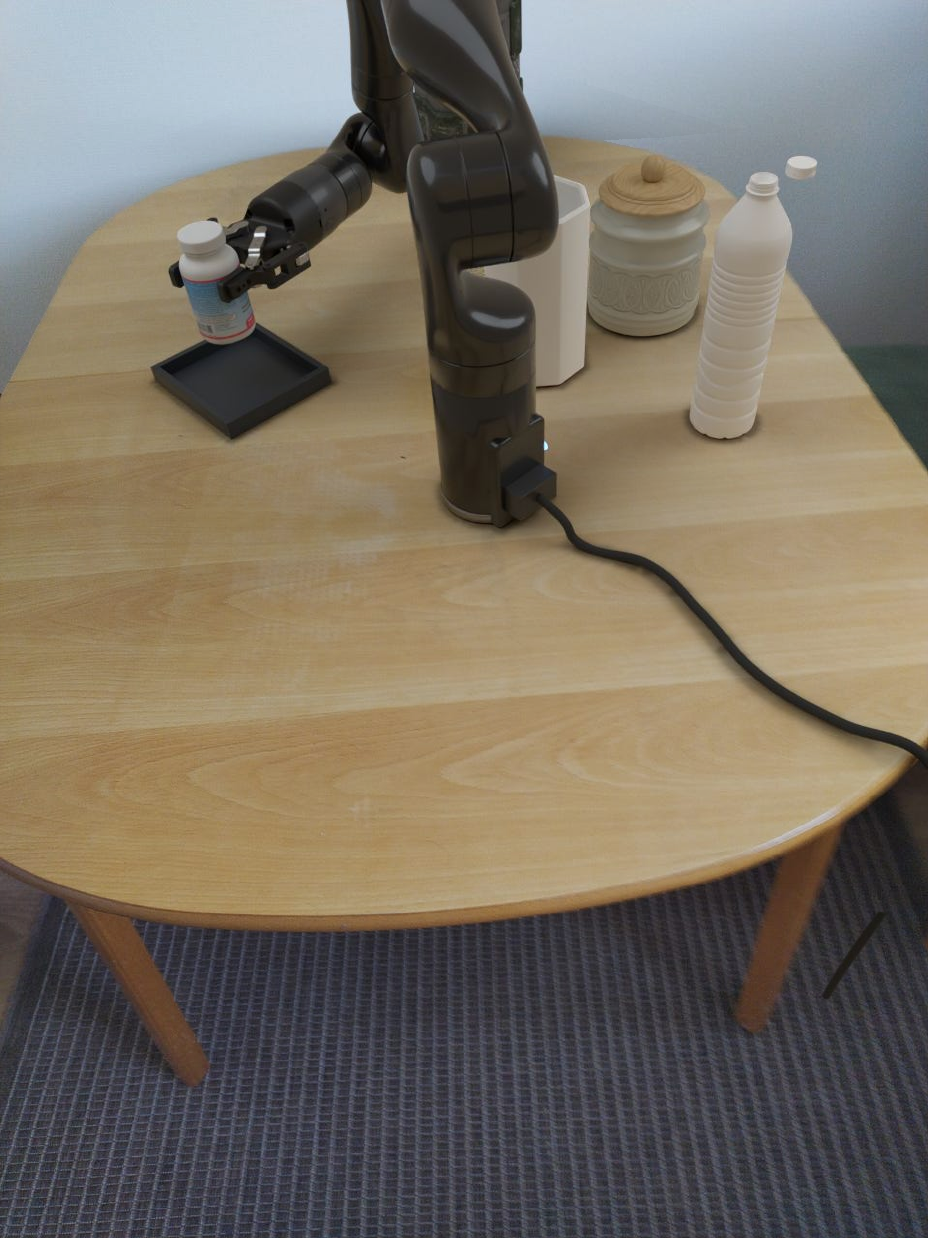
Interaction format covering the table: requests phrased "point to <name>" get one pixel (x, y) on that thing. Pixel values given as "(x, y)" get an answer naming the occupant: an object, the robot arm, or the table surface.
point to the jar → (647, 248)
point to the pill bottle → (212, 283)
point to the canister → (443, 120)
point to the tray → (241, 379)
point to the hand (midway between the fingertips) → (197, 286)
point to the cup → (557, 287)
